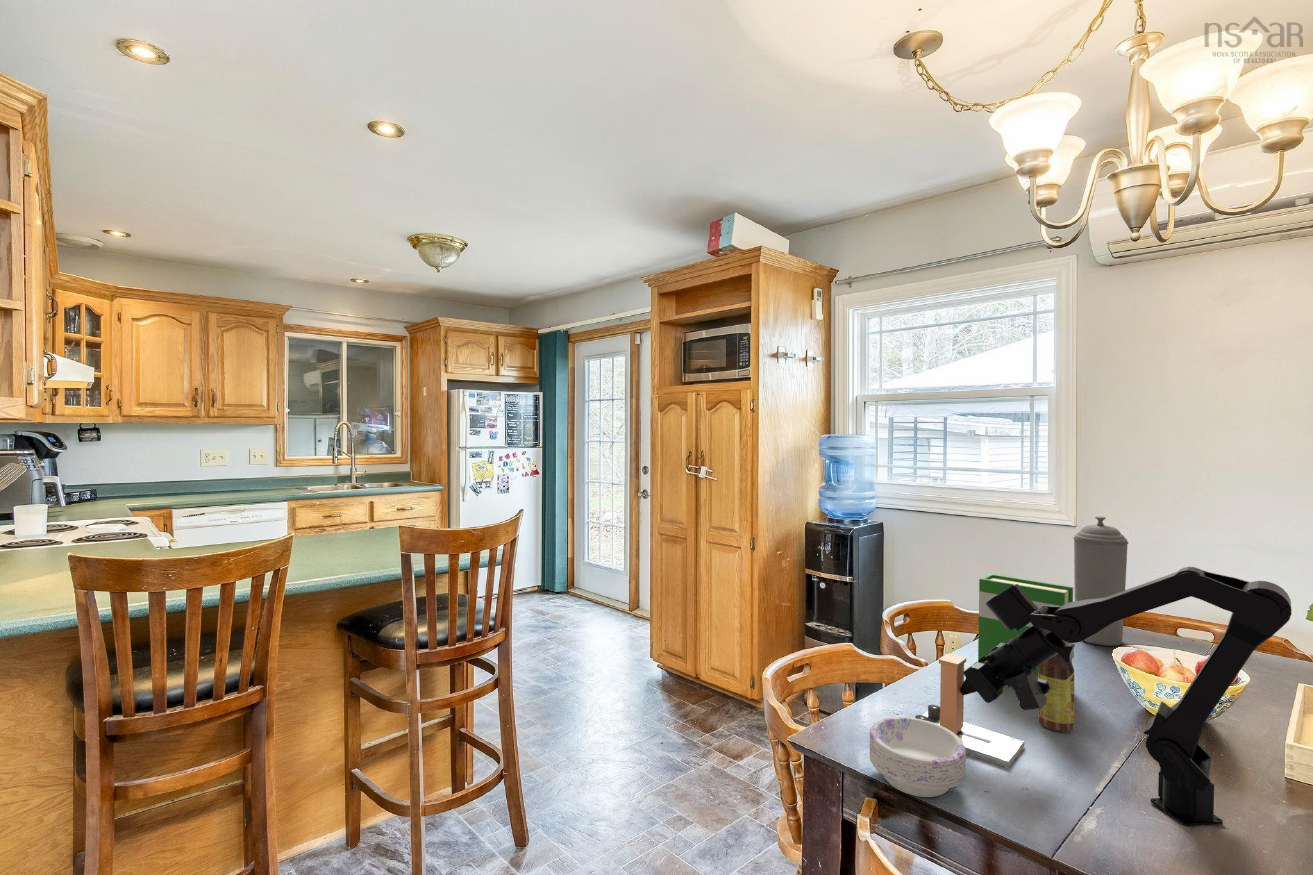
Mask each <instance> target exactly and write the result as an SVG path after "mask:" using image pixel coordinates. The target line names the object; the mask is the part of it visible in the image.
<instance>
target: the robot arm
mask: <svg viewBox="0 0 1313 875" xmlns="http://www.w3.org/2000/svg"><path fill="white" fill-rule="evenodd" d="M1191 597H1192V598H1195V599H1197V600H1200V601H1203V602H1206V603H1208V604H1209V605H1213V606H1215V607H1217V608H1219V609H1222V610H1225V611H1227V612H1230V613H1231V614H1230V615H1231V616H1229V617H1230V618H1229V621H1228V623H1227V626H1226V629H1225V631H1224V633H1223V635H1222V636H1221V638H1220V639H1219V641H1218V642H1217V643H1216V645H1215V646H1214V648H1213V649H1212V651H1211V653H1210V654H1209V655H1208V657H1207V659H1206V661H1205V662H1204V663H1203V665H1202V666H1201V668H1200V669H1199V671H1198V672H1197V674H1196V675H1195V677H1194V678H1193V680H1192V681H1191V683H1190V685H1189V686H1188V688H1187V689H1186V691H1185V692H1184V694H1183V695H1182V696H1181V698H1180V700H1179V701H1177V702H1176V703H1175V704H1173V705H1172V706H1169V705H1168V704H1166V703H1165V702H1164V701H1161V702H1160V704H1159V707H1158V709H1157V711H1156V713H1155V715H1154V716H1152V717H1150V718H1149V720H1148V721H1147V724H1146V727H1145V729H1144V731H1143V734H1144V735H1147V738H1146V740H1145V747H1146V749H1147V752H1148V754H1149V755H1150V756H1151V758H1152V759H1153V760H1154V761H1156V762H1157V764H1158V765H1159V768H1160V769H1159V772H1158V778H1157V779H1158V780H1157V781H1158V785H1157V796H1158V797H1151V798H1150V804H1152V805H1154V806H1156V808H1159V809H1160V810H1161V811H1162V812H1165V813H1166V814H1167V815H1168V816H1170V817H1171V818H1172V819H1174V820H1175V821H1176V822H1178V823H1180V824H1181V825H1183V826H1185V827H1195V826H1196V827H1197V826H1213V825H1224V820H1223V819H1222V818H1220V817H1219V816H1217V815H1216V814H1215V812H1214V811H1215V784H1214V783H1213V782H1212V781H1211V774H1212V773H1211V772H1212V768H1213V763H1214V758H1213V757H1212V756H1211V755H1210V754H1209V753H1208V752H1207V751H1206V749H1204V748H1203V746H1202V745H1200V744H1199V740H1200V738H1201V735H1202V732H1203V729H1204V726H1205V723H1206V721H1207V720H1208V719H1209V717H1210V716H1211V714H1212V713H1213V711H1214V710H1215V708H1216V707H1217V705H1218V703H1219V702H1220V701H1221V699H1222V698H1223V696H1224V695H1225V693H1227V690H1228V689H1229V688H1230V686H1231V685H1232V683H1233V682H1234V680H1235V679H1236V677H1237V676H1238V675H1239V673H1240V671H1241V670H1242V668H1243V667H1244V666H1245V664H1246V663H1247V661H1248V660H1249V658H1250V657H1251V655H1252V654H1253V652H1254V651H1255V650H1256V649H1257V648H1258V647H1260V646H1261V645H1262V644H1264V643H1265V642H1267V641H1268V640H1269V639H1271V638H1272V637H1273V636H1274V635H1275V634H1276V633H1277V632H1278V631H1280V629H1282V628H1283V627H1284V626H1285V625H1286V624H1287V623H1288V622H1289V621H1290V619H1291V616H1292V600H1291V598H1290V595H1289V594H1288V593H1287V591H1286V590H1285V589H1284V588H1282V587H1281V586H1280V585H1278V584H1276V583H1275V582H1274V583H1273V582H1270V581H1267V580H1266V581H1265V580H1255V581H1248V580H1244V579H1240V578H1237V577H1233V576H1228V575H1224V574H1220V573H1219V574H1218V573H1214V572H1209V571H1206V570H1203V569H1201V568H1198V567H1194V566H1185V567H1182V568H1180V569H1179V570H1177V571H1176V572H1173V573H1170V574H1168V575H1165V576H1164V575H1163V576H1162V577H1158V578H1156V579H1153V580H1150V581H1147V582H1145V583H1142V584H1139V585H1137V586H1134V587H1131V588H1128V589H1125V591H1122V592H1119V593H1116V594H1114V595H1111V596H1108V597H1104V598H1098V599H1087V600H1081V601H1075V600H1074V601H1073V602H1070V603H1066V604H1064V605H1063V606H1061V607H1060V606H1044V605H1042V606H1040V607H1039V608H1038V607H1037V606H1036V605H1035V604H1034V603H1033V602H1032V601H1031V600H1030V598H1029V597H1028V596H1027V595H1026V594H1025V593H1024V591H1023V589H1022V588H1021V587H1020V586H1019V585H1018V584H1014V585H1013V586H1011V587H1010V588H1008V589H1007V590H1006V591H1005V590H1004V591H1003V592H1001V593H999V594H998V595H996V596H995V597H993V598H992V599H990V600H989V601H988V602H986V603H985V605H986V606H987V607H988V608H989V609H990V610H991V612H992V613H993V614H994V615H995V616H996V617H997V618H998V620H999V621H1000V622H1001V623H1002V624H1003V625H1004V626H1005V628H1006V629H1010V630H1013V629H1014V628H1015V630H1016V631H1018V630H1020V629H1021V628H1023V627H1024V626H1026V625H1027V624H1029V623H1030V622H1031V623H1032V625H1033V626H1032V627H1030V628H1029V629H1027V630H1025V631H1024V632H1022V633H1021V634H1019V635H1018V636H1016V637H1014V638H1012V639H1011V640H1009V641H1008V642H1007V643H1006V644H1005V643H1000V644H998V645H997V646H995V647H994V648H992V649H991V650H990V651H991V653H990V654H989V655H988V656H986V657H984V656H983V657H982V658H981V659H979V660H978V659H977V661H976V662H974V663H973V664H971V665H970V666H969V667H968V668H966V669H964V672H963V673H964V683H963V684H962V686H961V688H960V692H961V694H962V695H964V696H967V695H970V694H973V693H978V694H979V696H980V697H981V698H982V700H983V701H984V702H985V703H987V704H990V703H993V702H994V701H996V700H997V699H998V698H999V697H1000V696H1001V695H1002V694H1003V693H1004V692H1003V691H1004V688H1005V687H1007V688H1009V689H1010V688H1013V691H1014V694H1015V697H1017V701H1018V703H1019V705H1018V706H1019V708H1020V709H1021V710H1022V711H1023V712H1026V711H1034V710H1038V709H1042V708H1043V707H1044V705H1045V704H1046V699H1047V696H1045V694H1046V693H1047V692H1048V691H1049V690H1050V689H1051V687H1050V685H1049V682H1048V681H1047V680H1043V679H1040V678H1038V676H1035V674H1034V672H1033V670H1035V669H1036V668H1037V667H1038V666H1039V665H1040V664H1042V663H1044V662H1045V661H1047V660H1049V659H1050V658H1052V657H1054V656H1055V655H1057V654H1059V655H1060V656H1061V657H1062V658H1063V659H1064V660H1065V662H1067V663H1069V662H1070V661H1071V660H1072V661H1073V659H1074V657H1075V647H1076V645H1075V644H1078V643H1080V642H1082V641H1083V640H1085V639H1086V638H1088V637H1090V636H1092V635H1094V634H1095V633H1097V632H1099V631H1100V630H1102V629H1104V628H1105V627H1107V626H1108V625H1110V624H1112V623H1114V622H1116V621H1118V620H1121V619H1126V618H1130V617H1133V616H1136V615H1139V614H1142V613H1144V612H1147V611H1152V610H1154V609H1157V608H1159V607H1163V606H1166V605H1169V604H1172V603H1175V602H1178V601H1181V600H1184V599H1187V598H1191ZM1065 641H1066V642H1065ZM1067 642H1068V643H1067ZM1083 642H1084V641H1083ZM1070 643H1072V644H1070ZM1006 685H1007V686H1006ZM1011 686H1013V687H1011Z"/></svg>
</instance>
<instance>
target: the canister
mask: <svg viewBox="0 0 1313 875" xmlns="http://www.w3.org/2000/svg"><path fill="white" fill-rule="evenodd" d="M1094 519H1096V520H1097V523H1096V524H1087V525H1085V526H1084V527H1081V529H1080V530H1078V531H1077V533H1075V534H1074V536H1073V540H1074V541H1073V544H1074V545H1073V550H1074V552H1073V554H1074V556H1073V560H1074V561H1073V563H1074V565H1073V566H1074V568H1073V569H1074V571H1073V572H1074V576H1073V577H1074V581H1073V582H1074V602H1075V601H1081V600H1087V599H1098V598H1104V597H1108V596H1111V595H1114V594H1116V593H1119V592H1122V591H1125V590H1126V585H1127V584H1126V582H1127V581H1126V580H1127V564H1128V563H1127V562H1128V545H1129V541H1128V538H1126V537H1125V535H1123V534H1122V533H1121V532H1120V530H1118V528H1116V527H1113V526H1111V525H1105V524H1104V521H1105V520H1106V517H1105V516H1099V515H1098V516H1095V517H1094ZM1124 619H1125V618H1124ZM1124 619H1121V620H1118V621H1116V622H1114V623H1112V624H1110V625H1108V626H1107V627H1105V628H1104V629H1102V630H1100V631H1099V632H1097V633H1095V634H1094V635H1092V636H1090V637H1088V638H1086V639H1085V640H1083V642H1087V643H1090V644H1092V645H1093V644H1094V645H1098V646H1105V647H1109V646H1110V647H1115V646H1120V645H1122V643H1123V636H1124Z"/></svg>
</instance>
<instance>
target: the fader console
mask: <svg viewBox="0 0 1313 875" xmlns="http://www.w3.org/2000/svg"><path fill="white" fill-rule="evenodd" d="M914 718H916V719H921V720H926V721H929V722H932V723H935V724H938V725H940V705H936V704H928V705H927V711H926V712H925V713H924V714H916V715H915V717H914ZM956 735H957V736H958V737H959V738H960V739H961V740H962V741H963V743H964V745H965V748H966V755H969V754H970V755H969V756H972V757H975V756H976V758H978V759H981V760H984V761H987V762H990V763H992V764H996V765H997V766H998V765H999V766H1002V767H1005V768H1006V769H1007V768H1008V769H1009V768H1010V766H1011V765H1012V764H1013V763H1014V761H1015V760H1016V759H1017V757H1019V755H1020V754H1021V752H1022V751H1023V750H1024V748H1025V740H1023V739H1022V740H1021V739H1018V738H1015V737H1012V736H1010V735H1009V736H1008V735H1006V734H1002V733H999V732H996V731H993V730H990V729H986V728H983V727H980V726H977V725H975V724H974V725H973V724H970V723H967V722H965V721H963V728H962V729H961V730H960V731H959V732H958V733H957V734H956Z"/></svg>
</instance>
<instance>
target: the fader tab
mask: <svg viewBox="0 0 1313 875" xmlns="http://www.w3.org/2000/svg"><path fill="white" fill-rule="evenodd" d="M966 663H967V657H965V656H960V655H956V654H952V653H948V652H947V653H945V654H944V655H943V656H941V657H940V658H938V664H940V684H939V685H940V690H939V691H940V694H939V695H940V696H939V700H940V702H939V707H940V726H943V727H945V728H947V729H948V730H950V731H952V732H953V733H955V734H957V733H958V732H959V731H960V730H961V729H962V728H963V722H964V704H965V698H964V697H965V695H962V694H961V692H960V688H961V686H962V684H963V683H964V681H965V676H964V673H963V672H964V671H965V664H966Z"/></svg>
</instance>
